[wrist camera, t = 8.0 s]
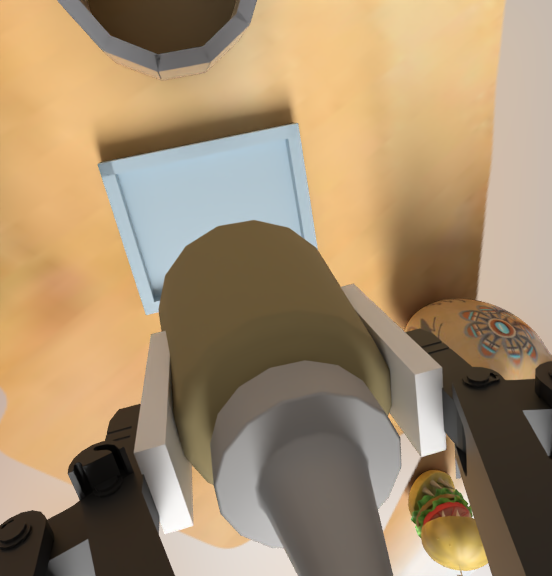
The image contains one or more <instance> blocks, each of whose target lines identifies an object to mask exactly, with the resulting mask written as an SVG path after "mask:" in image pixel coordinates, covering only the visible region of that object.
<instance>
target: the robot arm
mask: <svg viewBox="0 0 552 576" xmlns="http://www.w3.org/2000/svg"><path fill="white" fill-rule="evenodd" d="M341 288H342V290H343V292H344V293H345V295H346V297H347V298H348V300H349V301H350V303H351V305H352V306H353V308H354V309H355V311H356V313H357V314H358V316H359V318H360V319H361V321H362V322H363V324H364V326H365V327H366V329H367V330H368V332H369V334H370V335H371V337H372V339H373V340H374V342H375V344H376V346H377V347H378V349H379V351H380V353H381V355H382V356H383V358H384V360H385V362H386V364H387V365H388V367H389V369H390V378H391V400H392V406H391V409H390V414H391V415H392V417H393V418H394V419H395V421H396V422H397V424H398V425H399V426H400V428H401V429H402V431H403V432H404V433H405V435H406V436H407V438H408V439H409V440H410V442H411V443H412V445H413V446H414V447H415V449H416V450H417V452H418V453H419V454H420V456H421V457H424V456H427V455H430V454H434V453H437V452H440V451H444V450H446V434H447V435H448V436H449V437H450V439H451V440H452V441H453V442H454V443H455V461H456V479H457V478H461V477H462V480H463V483H464V487H465V490H466V493H467V496H468V499H469V502H470V506H471V509H472V512H473V515H474V518H475V522H476V525H477V528H478V531H479V534H480V538H481V541H482V544H483V547H484V550H485V554H486V557H487V560H488V563H489V566H490V570H491V573H492V576H552V361H548V362H545V363H542V364H540V365H539V366H538V367H537V368H536V369H535V379H521V380H505V379H504V378H503V377H502V376H501V375H500V374H499V373H498V372H496V371H494V370H492V369H488V368H484V367H472V366H471V365H470V364H469V363H467V362H466V361H465V360H464V359H463V358H461V357H460V356H459V355H458V354H457V353H456V352H454V351H453V350H452V349H449V347H448V346H447V345H446V344H445V343H444V342H443V343H442V341H441V340H440V339H439V338H438V337H437V336H435V335H434V334H433V333H430V332H428V331H425V330H422V329H420V328H419V329H415V330H412V331H408V332H404V331H403V330H402V329H401V328H400V327H399V326H398V325H397V324H396V323H395V322H394V321H393V320H391V319H390V318H389V317H388V316H387V315H386V314H385V313H384V312H383V311H382V310H381V309H380V308H379V307H378V306H377V305H376V304H374V303H373V302H372V301H371V300H370V299H369V298H368V297H367V296H366V295H365V294H364V293H363V292H362V291H361V290H360V289H359V288H358V287H356V286H355V285H354V284H351V285H347V286H343V287H341ZM68 475H69V477H70V480H71V482H72V484H73V486H74V488H75V490H76V493H77V495H78V497H79V499H80V501H79V502H77V503H76V504H75V505H73V506H72V507H70V508H68V509H67V510H65V511H63V512H61V513H59V514H57V515H55V516H53V517H51V518H50V519H48V520H47V519H46V517H45V516H44V515H43V514H42V513H41V512H38V511H33V510H32V511H28V512H23V513H20V514H18V515H16V516H14V517H11V518H10V519H8V520H7V521H5V522H4V523H3V524H1V525H0V576H175V575H174V572H173V570H172V567H171V565H170V562H169V560H168V557H167V554H166V552H165V549H164V547H163V544H162V542H161V539H160V537H159V521H160V523H161V526H162V529H163V531H164V534H167V533H171V532H174V531H177V530H181V529H184V528H187V527H191V526H193V495H192V464H191V463H190V462H189V461H188V460H187V459H186V457H185V456H184V453H183V450H182V447H181V443H180V440H179V436H178V432H177V428H176V424H175V420H174V414H173V402H172V384H171V365H170V352H169V347H168V341H167V336H166V331H162V332H158V333H154V334H151V338H150V345H149V351H148V358H147V365H146V372H145V379H144V386H143V393H142V399H141V404H138V405H134V406H130V407H126V408H123V409H119V410H118V411H117V412H116V414H115V415H114V416H113V418H112V419H111V420H110V422H109V426H108V430H107V435H106V439H105V441H103V442H100V443H97V444H94V445H92V446H90V447H88V448H87V449H85V450H83V451H82V452H81V453H79V454H78V455H77V456H76V457H75V458H74V459H73V461H72V462H71V464H70V465H69V469H68Z"/></svg>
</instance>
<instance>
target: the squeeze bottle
mask: <svg viewBox="0 0 552 576" xmlns="http://www.w3.org/2000/svg"><path fill="white" fill-rule="evenodd" d="M158 310H159V317H160V324H161V331H166V336H167V341H168V347H169V352H170V365H171V384H172V402H173V414H174V420H175V424H176V428H177V432H178V436H179V440H180V443H181V447H182V450H183V453H184V456H185V457H186V459H187V460H188V461H189V462H190V463H191V464H192V465H193V466H194V468H195V469H196V470H197V471H198V472H199V473H200V474H201V475H202V476H203V478H204V479H205V480H206V481H207V482H208V483H210V484H213V485H214V488H215V492H216V496H217V501H218V505H219V509H220V513H221V515H222V516H223V517H224V518H225V519H226V520H227V521H228V522H229V523H230V524H231V525H232V527H233V528H234V529H235V530H236V531H237V532H238V533H239V534H240V535H241V536H244V537H246V538H248V539H251V540H253V541H256V542H258V543H261V544H263V545H266V546H268V547H271V548H284V549H285V551H286V553H287V555H288V557H289V559H290V561H291V563H292V565H293V567H294V569H295V571H296V573H297V574H298V576H393V573H392V569H391V564H390V560H389V556H388V551H387V547H386V543H385V539H384V534H383V530H382V526H381V521H380V517H379V513H378V509H379V508H380V507H381V506H382V504H383V503H384V502H385V501H386V500H387V499H388V498H389V496H390V493H391V491H392V488H393V486H394V483H395V481H396V479H397V476H398V474H399V471H400V469H401V447H400V436H399V435H398V433H397V431H396V430H395V428H394V426H393V425H392V423H391V421H390V420H389V418H388V414H389V412H390V409H391V406H392V400H391V378H390V369H389V367H388V365H387V364H386V362H385V360H384V358H383V356H382V355H381V353H380V351H379V349H378V347H377V346H376V344H375V342H374V340H373V339H372V337H371V335H370V334H369V332H368V330H367V329H366V327H365V326H364V324H363V322H362V321H361V319H360V318H359V316H358V314H357V313H356V311H355V309H354V308H353V306H352V305H351V303H350V301H349V300H348V298H347V297H346V295H345V293H344V292H343V290H342V288H341V287H340V285H339V284H338V282H337V280H336V279H335V277H334V276H333V274H332V272H331V271H330V269H329V267H328V266H327V264H326V263H325V261H324V259H323V258H322V256H321V255H320V253H319V251H318V250H317V248H316V247H315V246H313V245H312V244H311V243H309V242H308V241H306V240H305V239H304V238H302V237H301V236H300V235H298V234H297V233H296V232H294V231H293V230H291V229H290V228H288V227H284V226H279V225H275V224H270V223H266V222H262V221H257V220H250V221H244V222H239V223H233V224H227V225H221V226H217V227H215V228H214V229H212V230H211V231H209V232H207V233H206V234H204V235H203V236H201V237H199V238H198V239H196V240H195V241H193V242H191V243H190V244H188V245H187V246H185V248H184V249H183V251H182V252H181V254H180V255H179V256H178V258H177V259H176V261H175V262H174V264H173V265H172V266H171V268H170V269H169V271H168V272H167V273H166V275H165V278H164V283H163V288H162V293H161V299H160V304H159V309H158Z"/></svg>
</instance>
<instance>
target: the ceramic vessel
mask: <svg viewBox="0 0 552 576" xmlns="http://www.w3.org/2000/svg"><path fill="white" fill-rule="evenodd" d="M419 328H420V329H422V330H425V331H428V332H430V333H433V334H434V335H435V336H437V337H438V338H439V339H440V340H441V341H442V343H443V342H444V343H445V344H446V345H447V346H448V347H449V349H452V350H453V351H454V352H456V353H457V354H458V355H459V356H460V357H461V358H463V359H464V360H465V361H466V362H467V363H469V364H470V365H471V366H472V367H484V368H488V369H492V370H494V371H496V372H498V373H499V374H500V375H501V376H502V377H503V378H504V379H505V380H521V379H535V369H536V368H537V367H538V366H539V365H540V364H542V363H545V362H548V361H552V355H551V353H550V352H549V351H548V349H547V348H546V346H545V345H544V343H543V342H542V340H541V339H540V338H539V336H538V335H537V334H536V333H535V332H534V331H533V329H532V328H531V327H529V326H528V325H527V324H526V323H525V322H523V321H522V320H521V319H520V318H518V317H517V316H515V315H513V314H512V313H510V312H508V311H506V310H504V309H502V308H500V307H497V306H495V305H492V304H489V303H485V302H481V301H477V300H471V299H446V300H441V301H437V302H434V303H431V304H429V305H427V306H425V307H423V308H421V309H420V310H419V311H417V312H416V313H415V314H414V315H413V316H412V317H411V319H410V320H409V322H408V324H407V326H406V328H405V332H408V331H412V330H415V329H419Z"/></svg>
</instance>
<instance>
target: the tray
mask: <svg viewBox="0 0 552 576" xmlns="http://www.w3.org/2000/svg"><path fill="white" fill-rule="evenodd" d="M98 167H99V170H100V173H101V177H102V180H103V183H104V186H105V189H106V192H107V195H108V198H109V201H110V205H111V208H112V211H113V214H114V217H115V220H116V223H117V226H118V229H119V232H120V236H121V239H122V242H123V245H124V248H125V251H126V254H127V257H128V260H129V264H130V267H131V270H132V273H133V276H134V279H135V282H136V285H137V288H138V291H139V295H140V298H141V301H142V304H143V307H144V310H145V313H146V315H149V314H153V313H157V312H159V310H158V309H159V304H160V299H161V293H162V288H163V283H164V278H165V275H166V273H167V272H168V271H169V269H170V268H171V266H172V265H173V264H174V262H175V261H176V259H177V258H178V256H179V255H180V254H181V252H182V251H183V249H184V248H185V246H187V245H188V244H190V243H191V242H193V241H195V240H196V239H198V238H199V237H201V236H203V235H204V234H206V233H207V232H209V231H211V230H212V229H214V228H215V227H217V226H221V225H227V224H233V223H239V222H244V221H250V220H257V221H262V222H266V223H270V224H275V225H279V226H284V227H288V228H290V229H291V230H293V231H294V232H296V233H297V234H298V235H300V236H301V237H302V238H304V239H305V240H306V241H308V242H309V243H311V244H312V245H313V246H315V247H316V248H317V242H316V236H315V229H314V223H313V216H312V210H311V203H310V197H309V190H308V184H307V178H306V171H305V165H304V158H303V152H302V145H301V139H300V132H299V126H298V123H291V124H286V125H281V126H276V127H271V128H266V129H261V130H256V131H252V132H247V133H242V134H237V135H232V136H227V137H222V138H217V139H212V140H207V141H202V142H197V143H193V144H188V145H183V146H178V147H173V148H168V149H163V150H158V151H153V152H148V153H143V154H139V155H134V156H129V157H124V158H119V159H114V160H109V161H104V162H101V163H99V164H98ZM317 250H318V248H317Z"/></svg>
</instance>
